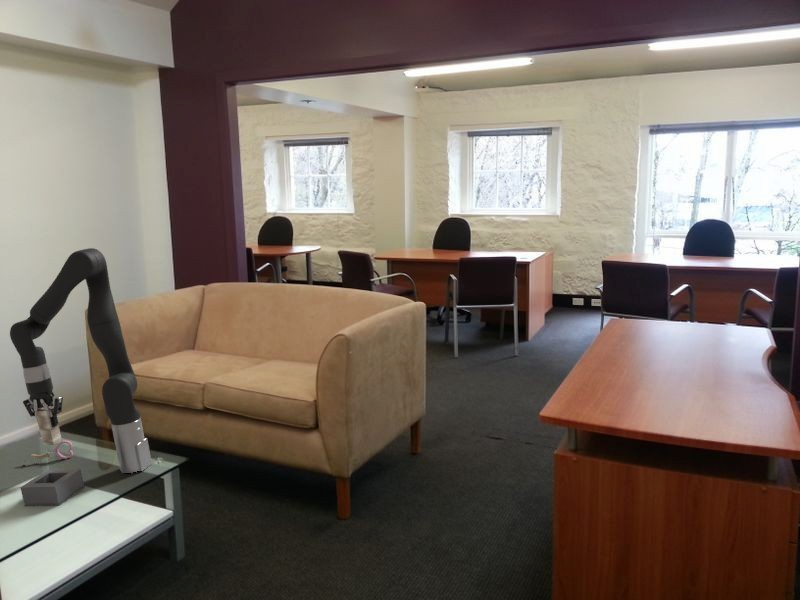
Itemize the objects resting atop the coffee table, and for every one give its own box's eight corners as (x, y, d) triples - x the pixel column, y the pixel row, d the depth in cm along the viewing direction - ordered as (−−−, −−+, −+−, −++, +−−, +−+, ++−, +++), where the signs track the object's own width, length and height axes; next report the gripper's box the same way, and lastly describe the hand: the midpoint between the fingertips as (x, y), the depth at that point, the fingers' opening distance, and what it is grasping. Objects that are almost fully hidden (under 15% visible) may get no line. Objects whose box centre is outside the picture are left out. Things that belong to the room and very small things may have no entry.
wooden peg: (61, 440, 218) (54, 406, 216) (53, 444, 214) (46, 411, 212) (51, 440, 219) (43, 407, 217) (43, 445, 215) (35, 411, 213)
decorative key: (20, 473, 231) (76, 455, 234) (19, 475, 230) (75, 456, 233) (13, 456, 230) (70, 438, 233) (11, 458, 228) (69, 439, 231)
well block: (84, 487, 206) (80, 468, 205) (59, 505, 194) (55, 486, 193) (51, 487, 208) (47, 469, 207) (24, 506, 196) (20, 487, 195)
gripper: (64, 373, 215) (74, 421, 218) (27, 376, 218) (38, 423, 221) (48, 380, 208) (60, 430, 211) (10, 383, 210) (22, 432, 213)
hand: (48, 426), depth 216 cm, fingers closed on wooden peg, 4 cm apart
